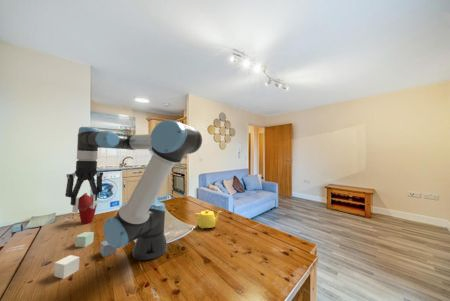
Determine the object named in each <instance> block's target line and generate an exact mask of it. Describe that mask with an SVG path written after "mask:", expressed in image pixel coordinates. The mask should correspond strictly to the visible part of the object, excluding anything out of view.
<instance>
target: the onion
mask: <svg viewBox="0 0 450 301" xmlns="http://www.w3.org/2000/svg"><path fill="white" fill-rule="evenodd" d="M78 198H79V200H78V208H79V209H80V210H83V211H85V210H86V209H87V208H89V207H90V206H91V204H92V202H93V201H92V198H91V197H90V195H88V193H87V192H84V193H83V194H82V195H81V196H80V197H78Z"/></svg>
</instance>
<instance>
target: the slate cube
mask: <svg viewBox="0 0 450 301" xmlns="http://www.w3.org/2000/svg"><path fill="white" fill-rule="evenodd" d="M99 249H100V250H99V251H100V252H99V253H100V256H102V258H105V257H108V256H111V255H113V254H116V253H117V248H113V247H111V246H110V245H109V244H108V243H107V241H106V240H103V241H101V242H100V248H99Z"/></svg>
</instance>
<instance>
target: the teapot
mask: <svg viewBox="0 0 450 301" xmlns="http://www.w3.org/2000/svg"><path fill="white" fill-rule="evenodd" d="M221 212H222V210H220V211H218V212H217V213H216V215H215V214H214V211H213V210H209V209H205V210H201V211H200V212H199V213H198V212H196V213H194V218H195V219H196V221H197V225H198V227H199V228H200V229H201V228H204V229H209V228H212V229H213V228H214V227H215V225H216V223H217V222H218V221H219V218H220V217H219V216H220V213H221ZM198 216H199V217H198Z"/></svg>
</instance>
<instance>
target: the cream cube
mask: <svg viewBox="0 0 450 301" xmlns="http://www.w3.org/2000/svg"><path fill="white" fill-rule="evenodd" d="M80 258H81V257H80V256H76V255H72V254H70V255H67V256H65V257H63V258H61V259H59V260H57V261H55V262H54V268H53V269H54V270H53V276H54V277H56V278H60V279H62V280H63V279H66V278H68V277H69V276H71V275H72V274H74V273H76V272H77V271H79V270H80Z"/></svg>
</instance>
